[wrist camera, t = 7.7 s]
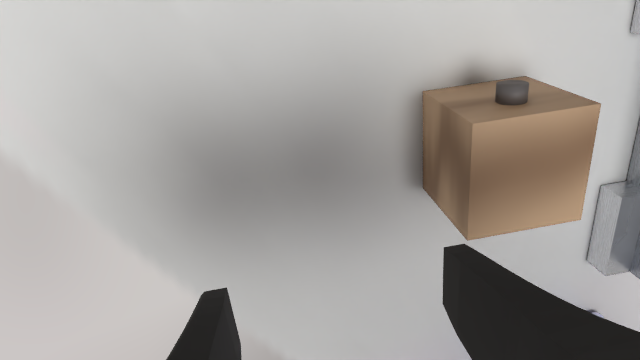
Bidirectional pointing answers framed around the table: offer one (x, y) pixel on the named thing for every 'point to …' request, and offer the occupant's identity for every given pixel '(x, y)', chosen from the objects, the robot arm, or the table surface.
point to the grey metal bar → (619, 214)
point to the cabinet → (507, 154)
